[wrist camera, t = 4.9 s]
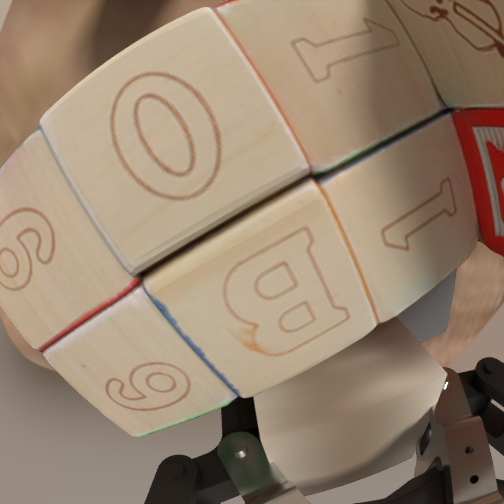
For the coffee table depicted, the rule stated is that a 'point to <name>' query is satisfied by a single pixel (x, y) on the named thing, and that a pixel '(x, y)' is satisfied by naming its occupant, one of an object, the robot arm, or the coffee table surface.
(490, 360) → the robot arm
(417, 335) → the charcoal pad
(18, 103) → the coffee table surface
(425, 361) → the cream block
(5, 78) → the coffee table surface
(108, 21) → the coffee table surface
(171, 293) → the stack of blocks
